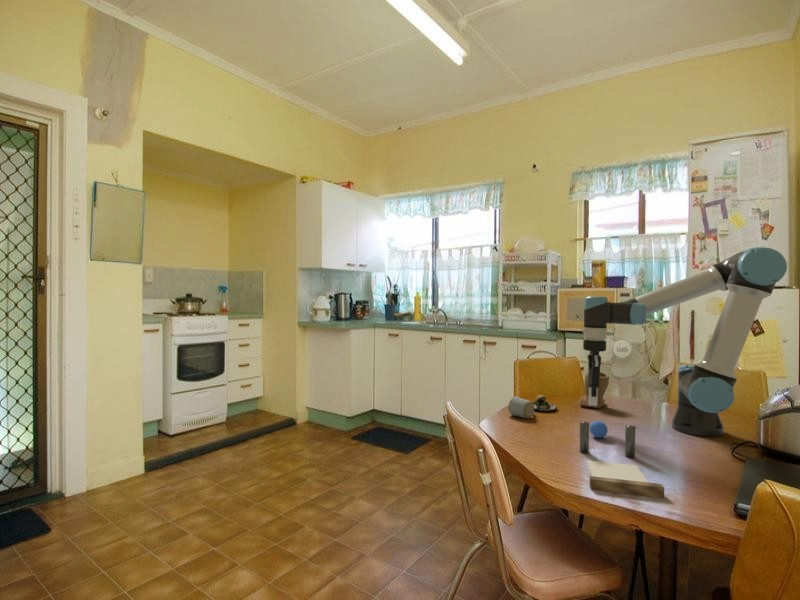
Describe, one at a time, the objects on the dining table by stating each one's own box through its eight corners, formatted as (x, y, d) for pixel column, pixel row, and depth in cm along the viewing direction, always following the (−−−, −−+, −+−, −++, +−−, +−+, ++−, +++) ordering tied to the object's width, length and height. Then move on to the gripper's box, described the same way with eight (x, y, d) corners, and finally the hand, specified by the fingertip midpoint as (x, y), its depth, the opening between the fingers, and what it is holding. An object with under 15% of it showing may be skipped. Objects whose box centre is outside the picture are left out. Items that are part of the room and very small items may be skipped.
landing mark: (637, 466, 121) (637, 465, 121) (649, 485, 109) (649, 484, 109) (586, 460, 125) (586, 460, 125) (593, 479, 112) (593, 478, 112)
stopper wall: (661, 494, 104) (661, 484, 104) (664, 498, 102) (664, 487, 102) (589, 485, 108) (589, 475, 108) (590, 489, 106) (590, 479, 106)
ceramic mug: (524, 420, 165) (525, 401, 165) (507, 416, 171) (508, 397, 171) (540, 416, 171) (540, 398, 171) (523, 412, 177) (523, 394, 177)
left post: (588, 450, 133) (588, 421, 133) (589, 453, 130) (589, 424, 130) (579, 450, 133) (579, 421, 133) (580, 453, 131) (580, 423, 131)
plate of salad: (528, 412, 177) (529, 394, 177) (525, 405, 189) (526, 388, 189) (559, 414, 175) (559, 396, 175) (554, 406, 187) (554, 389, 186)
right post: (633, 455, 129) (634, 425, 129) (636, 458, 127) (636, 428, 127) (624, 454, 130) (624, 424, 130) (626, 457, 127) (626, 427, 127)
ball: (606, 435, 147) (606, 419, 147) (608, 440, 142) (609, 424, 142) (588, 434, 149) (588, 418, 149) (590, 439, 144) (590, 422, 143)
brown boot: (606, 411, 178) (606, 375, 178) (575, 407, 185) (576, 372, 185) (612, 404, 191) (612, 370, 191) (583, 400, 198) (583, 367, 198)
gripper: (581, 337, 162) (579, 399, 162) (585, 340, 149) (583, 408, 150) (603, 338, 160) (601, 401, 160) (609, 341, 147) (607, 410, 148)
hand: (592, 404), depth 155 cm, fingers closed
